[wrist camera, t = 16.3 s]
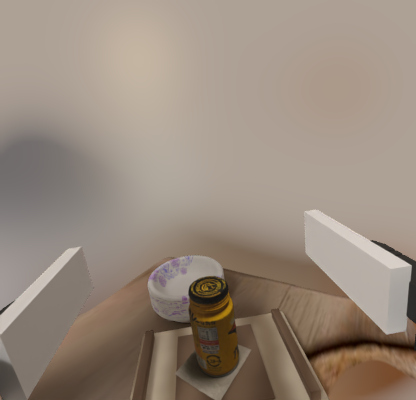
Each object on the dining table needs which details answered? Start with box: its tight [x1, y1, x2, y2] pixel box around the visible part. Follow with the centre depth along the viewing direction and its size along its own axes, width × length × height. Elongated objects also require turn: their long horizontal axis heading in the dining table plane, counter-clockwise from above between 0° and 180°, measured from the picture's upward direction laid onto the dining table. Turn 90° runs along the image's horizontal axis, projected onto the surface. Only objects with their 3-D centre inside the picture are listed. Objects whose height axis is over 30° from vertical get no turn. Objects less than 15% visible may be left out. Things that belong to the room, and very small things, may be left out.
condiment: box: [175, 276, 251, 400], centre depth 34 cm, size 7×8×12 cm
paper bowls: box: [148, 255, 225, 323], centre depth 52 cm, size 15×15×8 cm
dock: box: [130, 309, 329, 400], centre depth 36 cm, size 24×16×4 cm, turn 95°
